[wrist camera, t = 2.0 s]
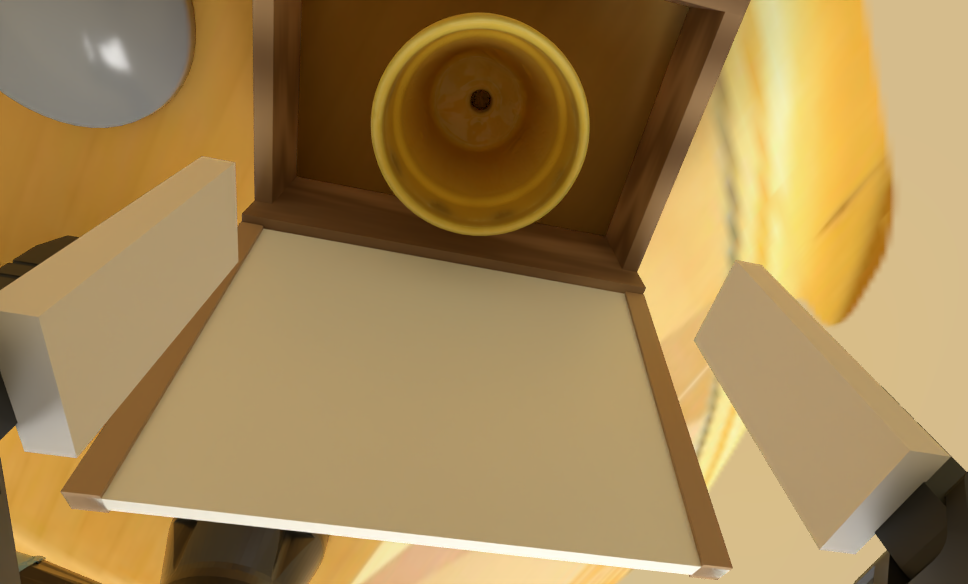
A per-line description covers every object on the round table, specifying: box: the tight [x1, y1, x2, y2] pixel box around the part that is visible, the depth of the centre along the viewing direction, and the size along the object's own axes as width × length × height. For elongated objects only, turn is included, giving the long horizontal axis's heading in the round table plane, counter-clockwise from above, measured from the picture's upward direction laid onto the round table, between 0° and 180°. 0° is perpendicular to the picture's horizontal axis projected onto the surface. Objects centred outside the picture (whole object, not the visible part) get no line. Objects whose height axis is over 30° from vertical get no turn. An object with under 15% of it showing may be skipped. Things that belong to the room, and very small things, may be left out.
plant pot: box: [371, 12, 590, 236], centre depth 29 cm, size 10×10×10 cm
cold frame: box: [242, 0, 750, 294], centre depth 30 cm, size 17×24×7 cm
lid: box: [61, 222, 733, 580], centre depth 25 cm, size 4×24×16 cm, turn 78°
